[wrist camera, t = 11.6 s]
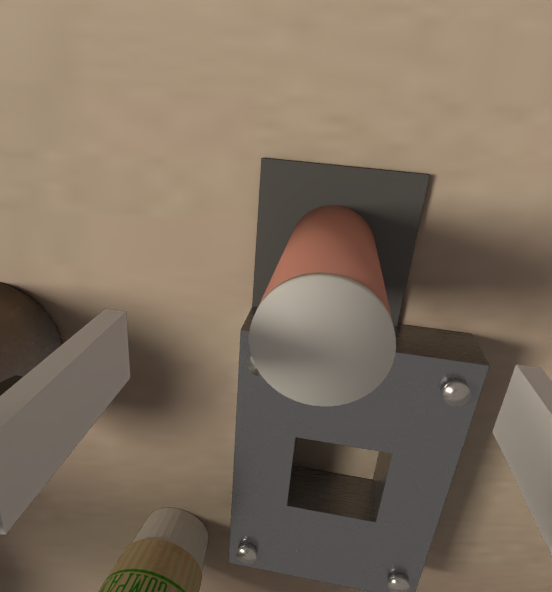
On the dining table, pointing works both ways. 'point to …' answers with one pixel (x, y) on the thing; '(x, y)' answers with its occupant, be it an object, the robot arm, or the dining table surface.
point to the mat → (344, 192)
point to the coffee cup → (162, 555)
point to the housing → (347, 489)
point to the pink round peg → (325, 313)
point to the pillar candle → (23, 333)
